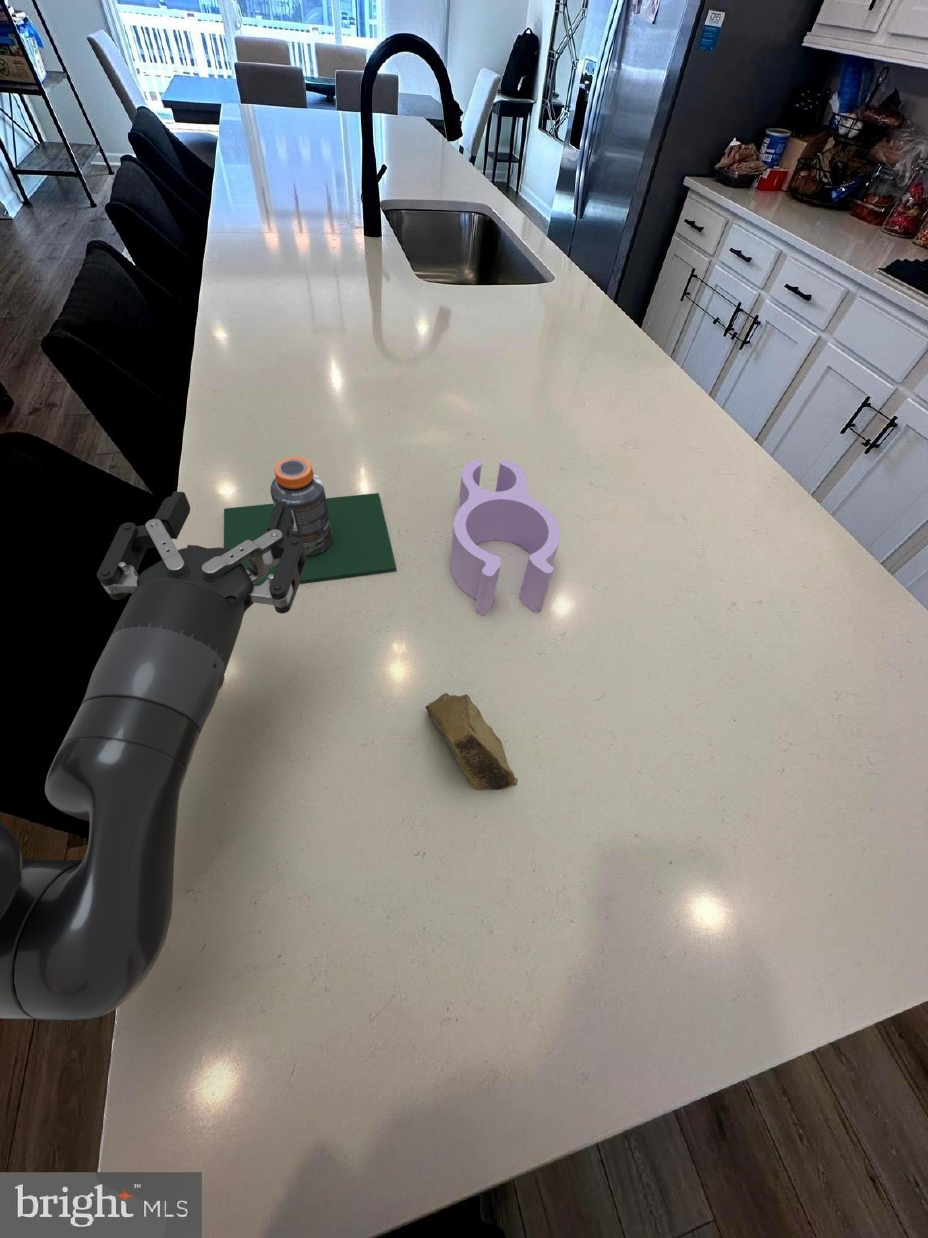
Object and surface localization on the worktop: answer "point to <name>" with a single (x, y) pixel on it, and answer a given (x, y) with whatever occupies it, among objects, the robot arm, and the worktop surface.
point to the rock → (472, 742)
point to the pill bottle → (303, 502)
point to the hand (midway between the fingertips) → (233, 503)
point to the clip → (501, 535)
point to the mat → (353, 542)
